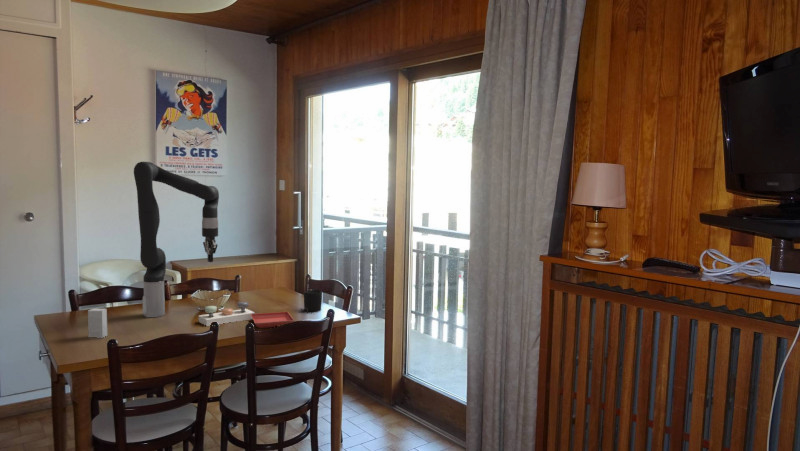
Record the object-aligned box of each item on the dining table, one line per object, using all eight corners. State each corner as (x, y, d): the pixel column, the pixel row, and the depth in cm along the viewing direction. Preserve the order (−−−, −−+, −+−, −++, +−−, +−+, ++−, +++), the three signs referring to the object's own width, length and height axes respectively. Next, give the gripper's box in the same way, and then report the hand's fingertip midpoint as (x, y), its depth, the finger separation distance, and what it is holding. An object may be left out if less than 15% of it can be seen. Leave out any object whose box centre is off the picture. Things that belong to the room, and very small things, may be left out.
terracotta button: (224, 321, 265) (224, 311, 265) (219, 319, 269) (219, 309, 269) (234, 320, 268) (234, 309, 268) (230, 317, 272) (230, 307, 272)
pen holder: (302, 308, 296) (302, 289, 295) (320, 307, 298) (320, 289, 297) (304, 312, 287) (304, 293, 286) (322, 311, 289) (322, 293, 288)
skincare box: (107, 335, 239) (107, 308, 238) (102, 338, 235) (102, 310, 234) (93, 335, 239) (92, 308, 238) (88, 338, 235) (87, 310, 234)
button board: (206, 326, 257) (206, 320, 257) (198, 321, 265) (198, 315, 265) (255, 318, 273) (255, 312, 272) (246, 314, 280) (246, 308, 280)
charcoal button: (240, 314, 270) (240, 304, 270) (235, 312, 274) (235, 302, 274) (250, 313, 273) (250, 303, 273) (245, 311, 277) (245, 301, 277)
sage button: (207, 319, 260) (207, 308, 259) (203, 317, 264) (203, 306, 263) (218, 318, 263) (218, 307, 263) (214, 315, 267) (214, 305, 267)
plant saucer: (250, 320, 271) (250, 313, 271) (287, 317, 278) (287, 311, 277) (254, 330, 254) (254, 323, 254) (294, 327, 261) (294, 320, 260)
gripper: (197, 226, 275) (197, 260, 277) (207, 228, 265) (207, 264, 267) (212, 225, 280) (212, 259, 282) (222, 227, 270) (223, 263, 272)
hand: (210, 261), depth 274 cm, fingers closed
